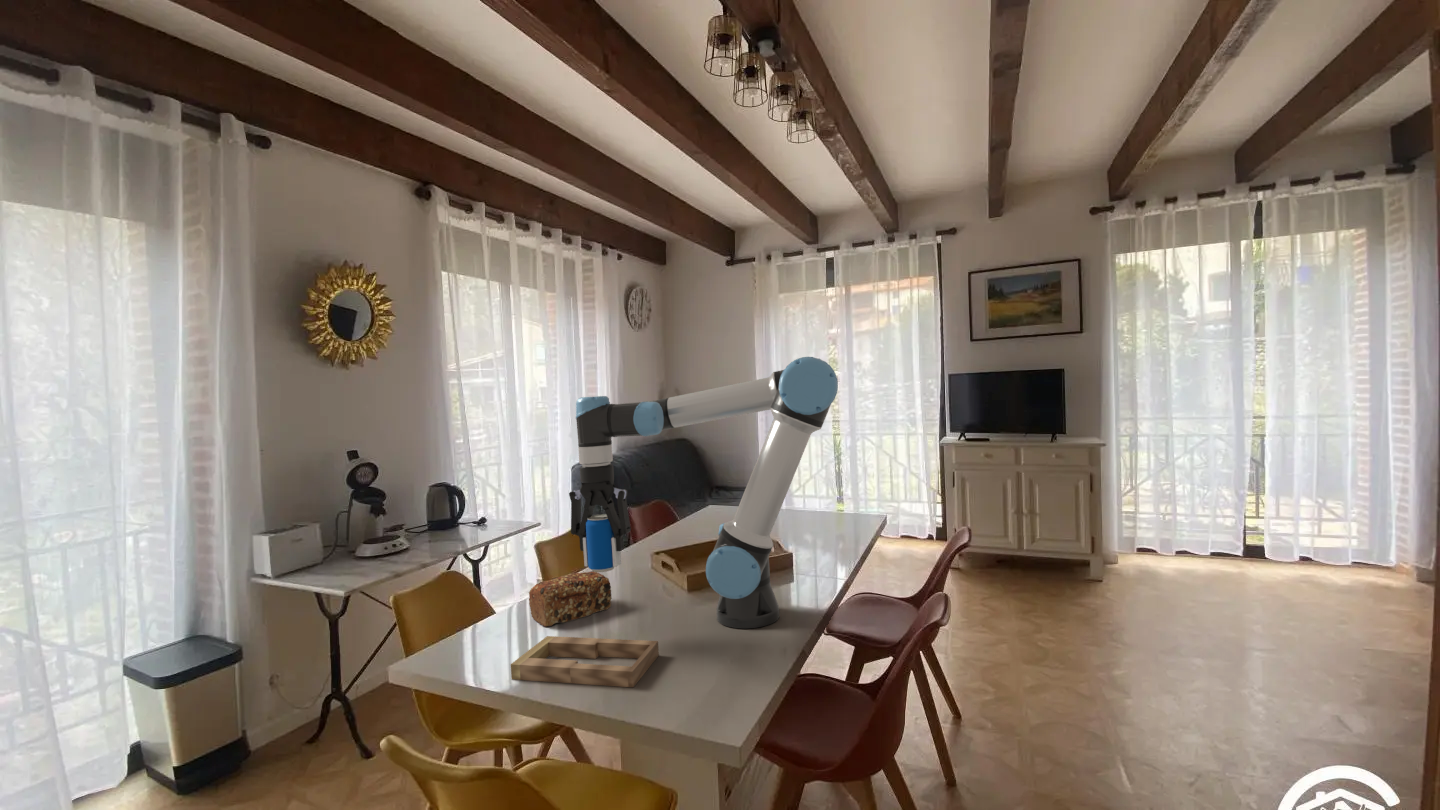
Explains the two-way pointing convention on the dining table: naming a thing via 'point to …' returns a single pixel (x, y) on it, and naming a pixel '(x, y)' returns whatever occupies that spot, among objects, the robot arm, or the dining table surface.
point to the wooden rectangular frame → (570, 671)
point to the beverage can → (599, 543)
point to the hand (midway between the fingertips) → (602, 564)
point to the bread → (569, 597)
